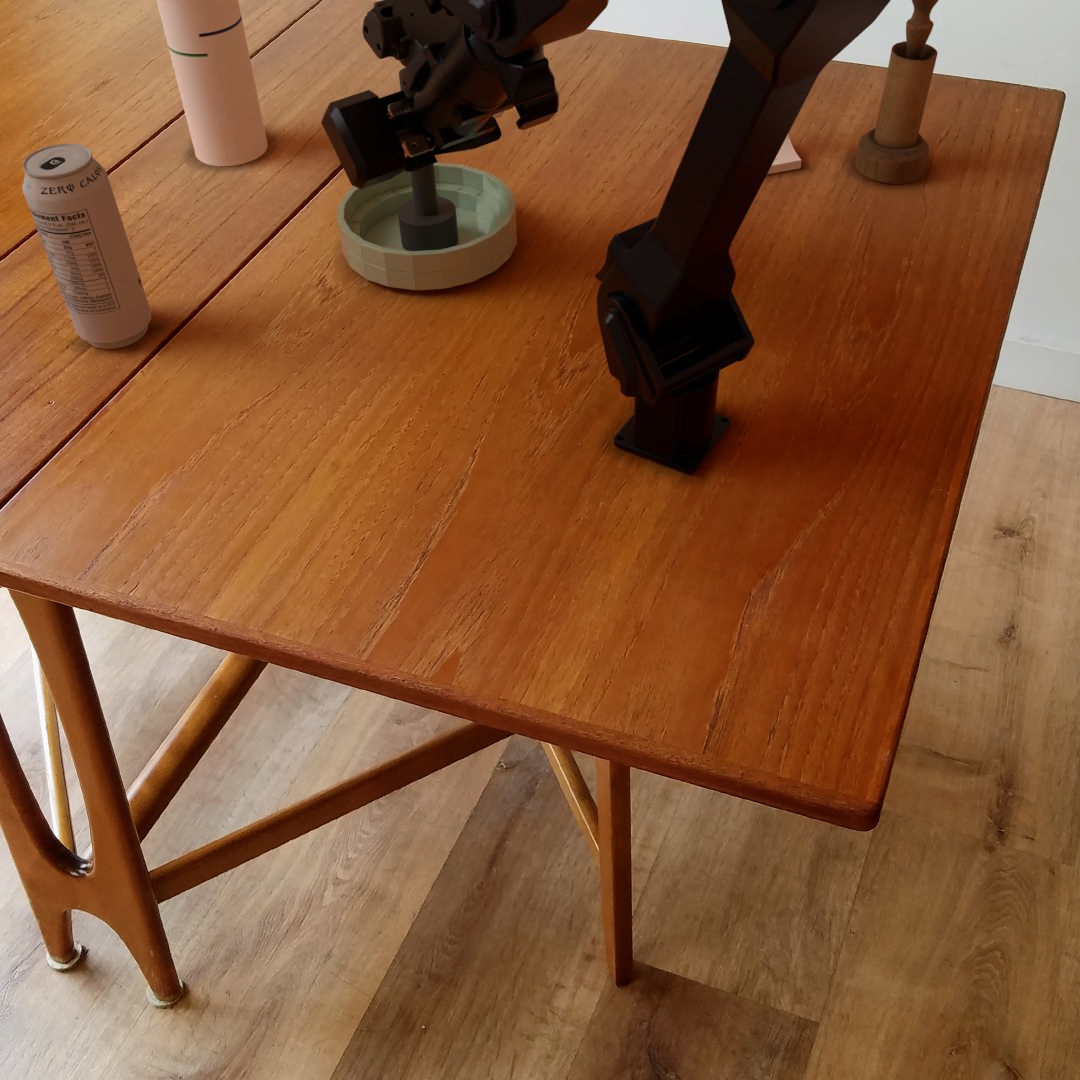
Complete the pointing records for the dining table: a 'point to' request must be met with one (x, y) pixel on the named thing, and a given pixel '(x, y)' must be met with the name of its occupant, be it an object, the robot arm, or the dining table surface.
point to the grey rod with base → (426, 212)
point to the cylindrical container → (215, 79)
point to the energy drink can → (86, 244)
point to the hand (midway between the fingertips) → (412, 154)
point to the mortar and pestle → (902, 107)
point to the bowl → (385, 261)
